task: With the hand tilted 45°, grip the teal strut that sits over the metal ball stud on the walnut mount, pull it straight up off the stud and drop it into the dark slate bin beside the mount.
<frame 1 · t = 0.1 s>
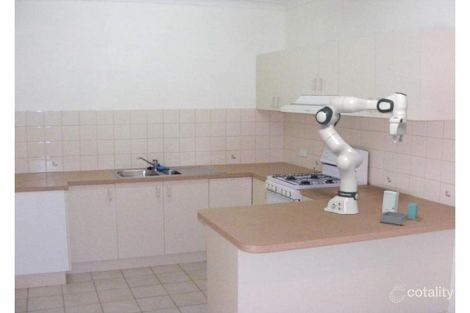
hand: (397, 142, 321), 48 cm above the counter, tool pointing down, fingers open, 8 cm apart
stud mount: (412, 220, 324), on the counter
strut: (412, 218, 324), point 1 cm above the counter, touching stud mount
skincare box: (389, 214, 341), on the counter
bin: (393, 222, 318), on the counter
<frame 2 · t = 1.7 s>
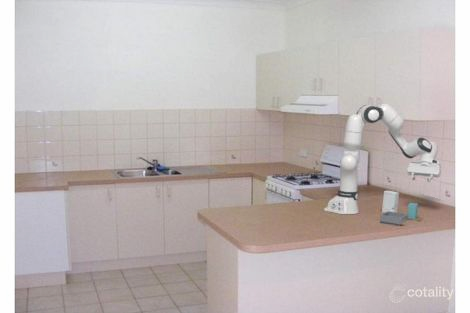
hand: (420, 180, 331), 23 cm above the counter, tool tilted 45°, fingers open, 8 cm apart
nothing on the counter moved.
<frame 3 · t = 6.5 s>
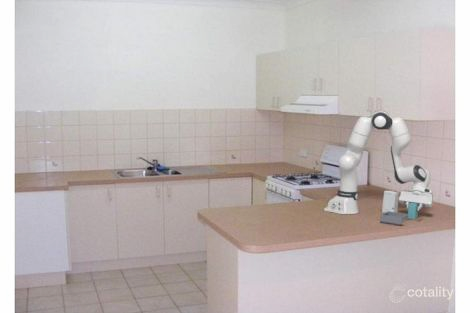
hand: (412, 209, 323), 7 cm above the counter, tool tilted 45°, fingers closed on strut, 4 cm apart
strut: (412, 218, 324), point 2 cm above the counter, touching gripper, stud mount
everything else where it was.
when the fingers open (8 cm above the counter, at t = 12.3 s): strut drops 2 cm, resting on bin.
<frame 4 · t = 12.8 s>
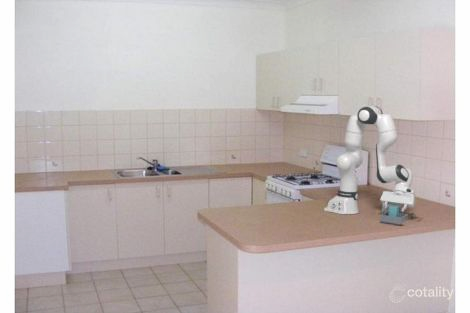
hand: (394, 210, 317), 8 cm above the counter, tool tilted 45°, fingers open, 8 cm apart
strut: (393, 221, 318), point 1 cm above the counter, touching bin
everything else where it was.
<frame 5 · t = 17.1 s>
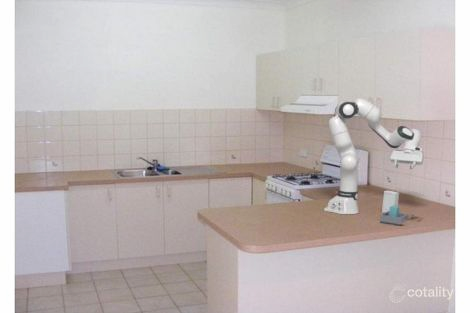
hand: (403, 167, 330), 31 cm above the counter, tool tilted 45°, fingers open, 8 cm apart
nothing on the counter moved.
at the end: strut inside the target area on the bin (0.1 cm from its centre), point 0.8 cm above the bin's base; the gripper is holding nothing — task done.
